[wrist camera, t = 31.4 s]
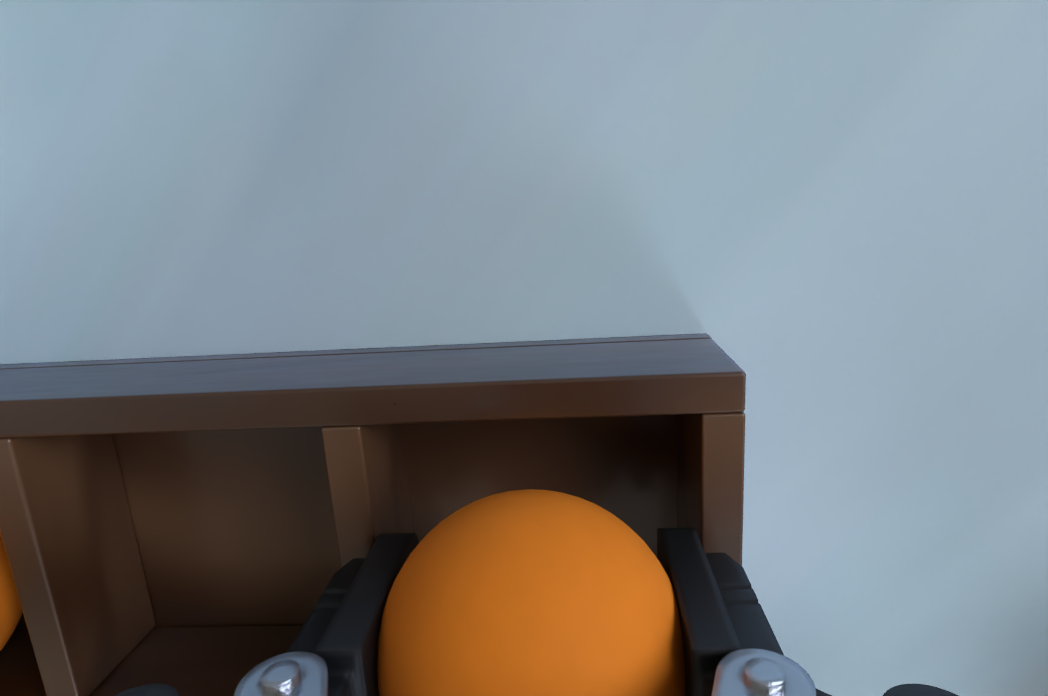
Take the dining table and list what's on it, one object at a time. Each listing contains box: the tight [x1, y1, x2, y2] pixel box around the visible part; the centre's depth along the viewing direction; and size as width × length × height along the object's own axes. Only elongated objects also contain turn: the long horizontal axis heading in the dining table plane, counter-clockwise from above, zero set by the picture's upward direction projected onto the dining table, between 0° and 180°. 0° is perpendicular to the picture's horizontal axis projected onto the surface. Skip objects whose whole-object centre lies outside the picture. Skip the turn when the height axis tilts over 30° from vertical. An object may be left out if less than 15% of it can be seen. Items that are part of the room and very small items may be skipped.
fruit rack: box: [0, 334, 746, 696], centre depth 16 cm, size 15×23×3 cm
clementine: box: [377, 489, 686, 696], centre depth 11 cm, size 5×5×5 cm
